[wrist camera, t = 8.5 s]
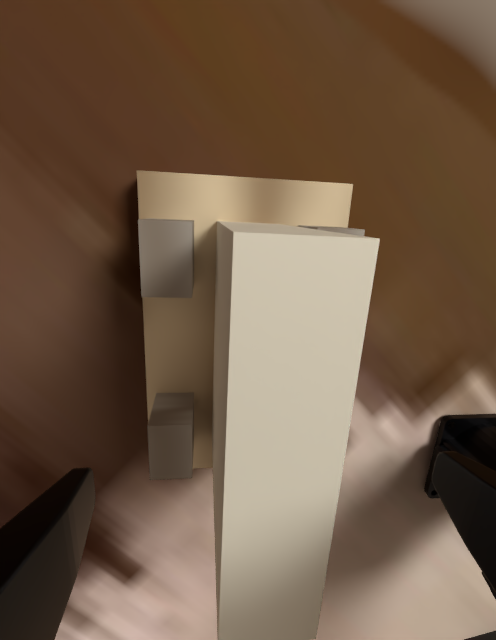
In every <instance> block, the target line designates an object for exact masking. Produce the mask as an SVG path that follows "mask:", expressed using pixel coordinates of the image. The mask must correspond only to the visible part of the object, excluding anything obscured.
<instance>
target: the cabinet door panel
mask: <svg viewBox="0 0 496 640" xmlns="http://www.w3.org/2000/svg"><path fill="white" fill-rule="evenodd" d="M379 241H380V239H378V238H371V237H364V236H357V235H351V234H344V233H337V232H330V231H323V230H317V229H310V228H303V227H296V226H289V225H282V224H268V223H249V222H229V221H217V242H216V284H215V327H214V370H213V412H212V460H213V494H214V529H215V563H216V598H217V633H218V640H310V639H316V635H317V629H318V623H319V616H320V610H321V604H322V598H323V591H324V585H325V579H326V573H327V566H328V560H329V554H330V547H331V541H332V535H333V529H334V522H335V516H336V510H337V504H338V497H339V491H340V485H341V479H342V472H343V466H344V460H345V454H346V447H347V441H348V435H349V428H350V422H351V416H352V410H353V403H354V397H355V391H356V385H357V378H358V372H359V366H360V360H361V353H362V347H363V341H364V335H365V328H366V322H367V316H368V309H369V303H370V297H371V291H372V284H373V278H374V272H375V266H376V259H377V253H378V247H379Z"/></svg>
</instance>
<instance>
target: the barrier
mask: <svg viewBox="0 0 496 640" xmlns="http://www.w3.org/2000/svg"><path fill="white" fill-rule="evenodd" d="M464 640H496V631H493V632H489V633H486V634H482V635H479V636H475V637H472V638H468V639H464Z"/></svg>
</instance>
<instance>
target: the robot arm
mask: <svg viewBox="0 0 496 640" xmlns="http://www.w3.org/2000/svg"><path fill="white" fill-rule="evenodd" d="M450 422H451V423H450ZM449 423H450V424H449ZM448 424H449V425H448ZM424 491H425V493H426V494H427V495H428V497H430V498H440V499H441V501H442V503H443V504H444V506H445V508H446V510H447V512H448V514H449V516H450V518H451V519H452V521H453V523H454V525H455V527H456V529H457V531H458V533H459V534H460V536H461V538H462V540H463V541H464V543H465V545H466V546H467V548H468V550H469V551H470V553H471V555H472V556H473V558H474V559H475V561H476V562H477V564H478V565H479V567H480V569H481V570H482V575H483V577H484V579H485V580H486V582H487V584H488V586H489V587H490V590H491V592H492V594H493V596H494V597H495V599H496V414H476V415H448V416H445V417H444V418H443V419H442V420H441V423H440V427H439V431H438V435H437V439H436V443H435V447H434V451H433V456H432V460H431V464H430V468H429V472H428V476H427V480H426V484H425V488H424ZM94 505H95V486H94V477H93V471H92V469H91V468H75V469H72V470H71V471H69V472H68V473H67V474H66V475H65V476H63V477H62V478H61V479H60V480H59V481H57V482H56V483H55V484H54V485H52V486H51V487H50V488H49V489H48V490H46V491H45V492H44V493H43V494H42V495H40V496H39V497H38V498H37V499H35V500H34V501H33V502H32V503H31V504H29V505H28V506H27V507H26V508H25V509H23V510H22V511H21V512H20V513H18V514H17V515H16V516H15V517H14V518H12V519H11V520H10V521H9V522H7V523H6V524H5V525H4V526H3V527H1V528H0V640H54V639H55V636H56V634H57V631H58V628H59V625H60V622H61V620H62V617H63V614H64V611H65V608H66V606H67V603H68V600H69V597H70V594H71V592H72V589H73V586H74V583H75V580H76V577H77V573H78V569H79V566H80V562H81V558H82V554H83V550H84V546H85V542H86V538H87V534H88V530H89V526H90V522H91V518H92V514H93V510H94Z"/></svg>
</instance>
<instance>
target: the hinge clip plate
mask: <svg viewBox="0 0 496 640" xmlns="http://www.w3.org/2000/svg"><path fill="white" fill-rule="evenodd" d="M137 186H138V209H139V219H138V232H139V254H140V276H141V297H142V298H143V320H144V342H145V365H146V387H147V409H148V426H147V429H148V451H149V472H150V480H164V479H184V478H192V470H193V469H194V468H213V460H212V412H213V370H214V327H215V284H216V242H217V221H229V222H249V223H268V224H282V225H289V226H296V227H303V228H310V229H317V230H323V231H330V232H337V233H344V234H351V235H357V236H364V231H365V230H362V229H353V228H347V227H348V220H349V212H350V204H351V196H352V188H353V184H343V183H328V182H312V181H296V180H280V179H264V178H248V177H232V176H216V175H200V174H185V173H169V172H153V171H137Z"/></svg>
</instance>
